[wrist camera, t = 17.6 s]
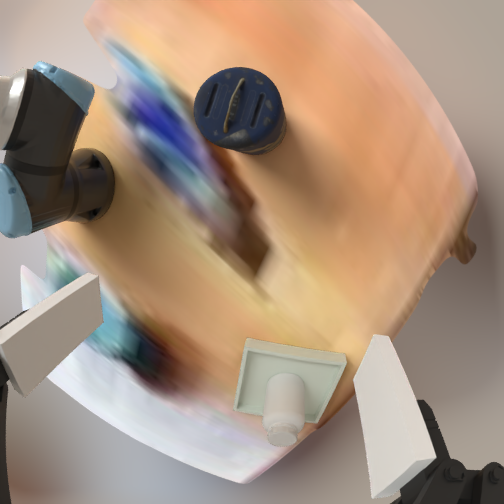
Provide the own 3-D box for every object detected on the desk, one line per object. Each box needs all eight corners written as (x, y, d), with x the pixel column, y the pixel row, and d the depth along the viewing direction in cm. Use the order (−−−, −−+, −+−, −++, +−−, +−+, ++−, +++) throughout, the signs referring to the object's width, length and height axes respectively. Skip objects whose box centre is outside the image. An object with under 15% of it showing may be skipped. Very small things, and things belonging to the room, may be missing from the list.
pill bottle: (303, 396, 54) (302, 450, 40) (267, 396, 56) (259, 449, 41) (306, 371, 52) (306, 428, 38) (266, 370, 53) (257, 426, 39)
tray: (235, 401, 59) (232, 410, 56) (246, 337, 52) (244, 346, 50) (316, 414, 57) (317, 423, 54) (345, 353, 51) (346, 362, 48)
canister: (297, 118, 40) (300, 86, 23) (266, 166, 43) (249, 166, 26) (246, 90, 39) (217, 47, 22) (216, 137, 42) (170, 122, 25)
